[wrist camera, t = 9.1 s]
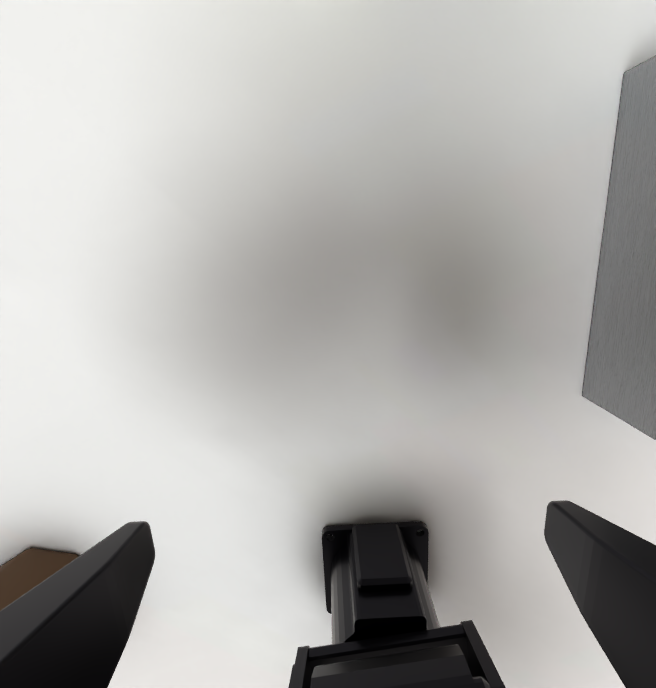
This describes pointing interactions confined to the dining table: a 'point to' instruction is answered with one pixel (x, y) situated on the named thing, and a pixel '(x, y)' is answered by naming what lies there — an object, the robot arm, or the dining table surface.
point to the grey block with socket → (628, 266)
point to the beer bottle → (29, 572)
